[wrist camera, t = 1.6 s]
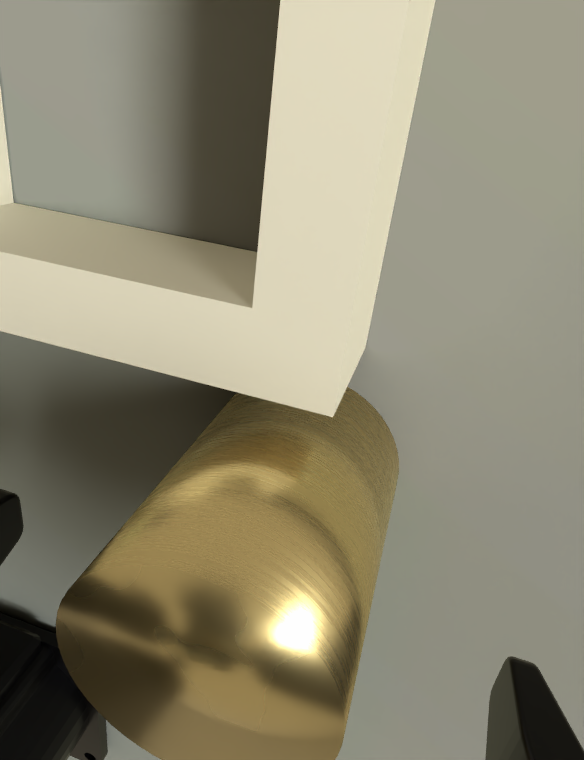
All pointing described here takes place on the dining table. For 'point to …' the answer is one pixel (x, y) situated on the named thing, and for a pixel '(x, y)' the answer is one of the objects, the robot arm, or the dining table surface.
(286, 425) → the brass cylinder
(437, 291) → the dining table surface
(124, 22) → the dining table surface
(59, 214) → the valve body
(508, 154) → the dining table surface
